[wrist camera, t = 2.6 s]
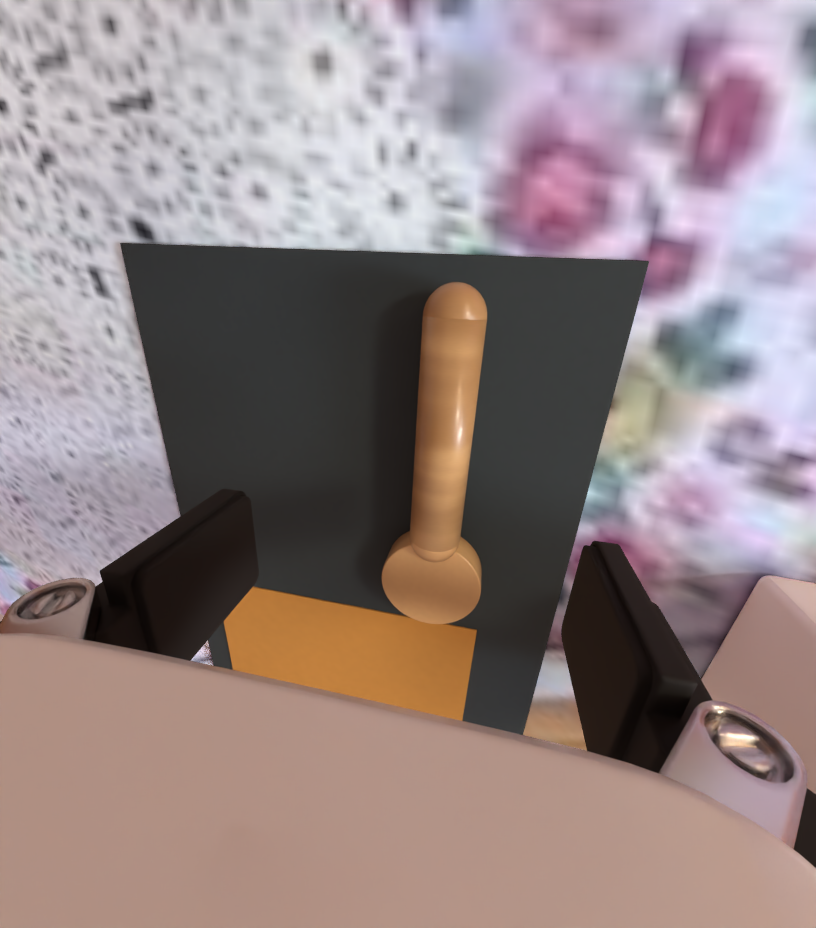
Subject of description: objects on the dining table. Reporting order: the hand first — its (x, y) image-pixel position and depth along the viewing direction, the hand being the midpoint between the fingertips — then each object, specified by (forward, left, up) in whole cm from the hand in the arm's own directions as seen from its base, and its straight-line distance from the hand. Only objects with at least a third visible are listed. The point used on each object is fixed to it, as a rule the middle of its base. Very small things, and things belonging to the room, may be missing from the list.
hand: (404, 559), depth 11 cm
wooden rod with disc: (+1, 0, -7) cm, 7 cm away
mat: (+5, -4, -7) cm, 9 cm away
